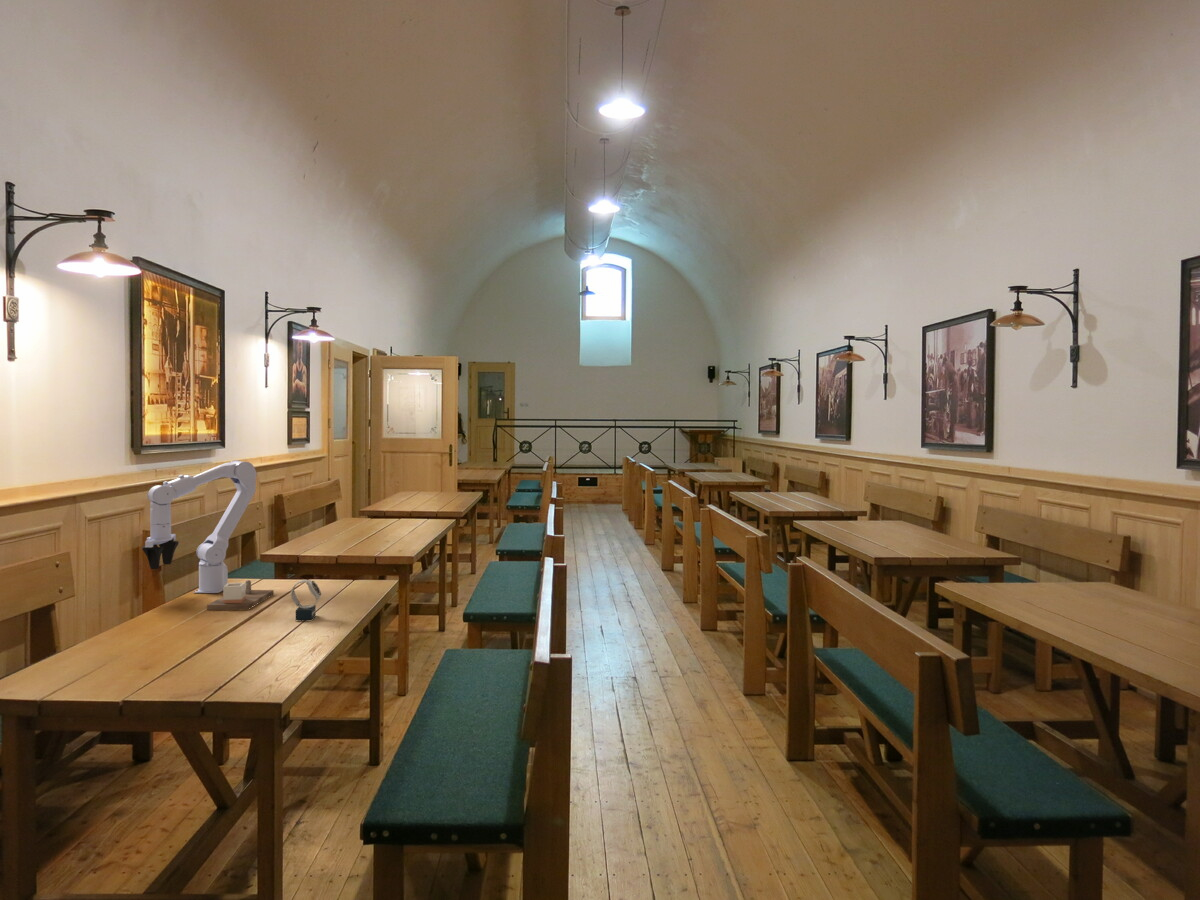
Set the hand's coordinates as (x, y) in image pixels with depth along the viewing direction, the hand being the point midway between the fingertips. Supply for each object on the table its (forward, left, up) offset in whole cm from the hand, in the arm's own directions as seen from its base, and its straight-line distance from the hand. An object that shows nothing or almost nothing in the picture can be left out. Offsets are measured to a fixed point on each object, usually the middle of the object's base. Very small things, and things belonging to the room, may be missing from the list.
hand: (161, 566), depth 243 cm
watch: (+24, +53, -10) cm, 59 cm away
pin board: (+5, +27, -10) cm, 29 cm away
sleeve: (+10, +27, -8) cm, 30 cm away
